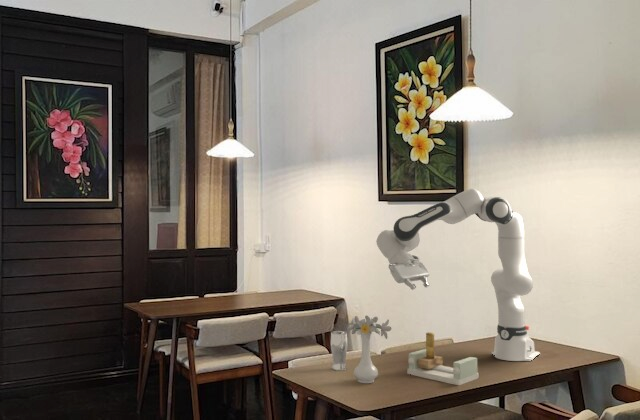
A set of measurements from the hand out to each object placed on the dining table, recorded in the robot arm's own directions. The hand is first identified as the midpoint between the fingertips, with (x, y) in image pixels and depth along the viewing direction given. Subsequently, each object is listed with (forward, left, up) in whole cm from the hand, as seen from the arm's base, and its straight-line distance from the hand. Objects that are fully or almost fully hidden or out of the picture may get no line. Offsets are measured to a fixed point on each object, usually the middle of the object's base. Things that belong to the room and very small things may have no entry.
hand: (421, 287), depth 270 cm
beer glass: (+26, -23, -33) cm, 48 cm away
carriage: (+6, +9, -30) cm, 32 cm away
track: (+6, +14, -33) cm, 37 cm away
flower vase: (+32, -3, -33) cm, 46 cm away
